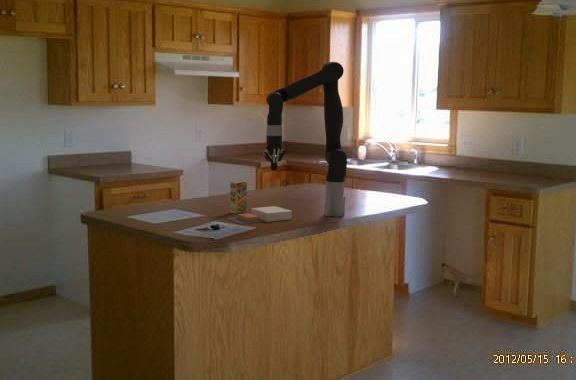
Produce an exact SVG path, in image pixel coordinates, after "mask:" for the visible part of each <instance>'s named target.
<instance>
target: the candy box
mask: <svg viewBox="0 0 576 380" xmlns="http://www.w3.org/2000/svg"><path fill="white" fill-rule="evenodd" d="M229 184H230V189H229V191H230V192H229V193H230V194H229V213H230V214H235V215H237V214H242V213H247V209H248V206H247V205H248V181H246V180H245V181H244V180H238V181H237V180H236V181H232V182H230V183H229Z"/></svg>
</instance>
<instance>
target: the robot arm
mask: <svg viewBox="0 0 576 380" xmlns="http://www.w3.org/2000/svg"><path fill="white" fill-rule="evenodd" d="M343 76H344V67H343V65H342V64H341V63H340V62H337V61H327V62H325V63H324V64H323V65H322V67H321V70H319V71H316V72H315V73H314V74H311V75H309V76H305V77H303V78H300V79H297V80H296V81H293V82H292V83H289V84H288V85H286V86H284V87H281V88H278V89H275V90H274V91H272V92H270V93H268V94H267V96H266V104H267V105H268V112H267V113H268V114H267V116H266V118H267V119H266V137H265V138H266V141H265V142H266V148H265V150H264V151H262V152H261V153H262V155H263V157H264V159H266V161H267V162H270V170H271V171H277V170H278V163H279V162H281V161H282V159H283V158H284V156H285V155H286V153H287V151H286V150H284V148H283V146H282V144H283V126H282V125H283V110H284V103H285V102H287V101H291V100H294V99H296V98H299V97H300V96H302V95H304V94H306V93H308V92H309V91H311V90H313V89H315V88H317V87H321V86H322V87H323V115H324V116H323V118H324V120H323V121H324V131H325V133H324V134H325V155H324V158H325V162H326V164H327V165H328V168H327V169H328V170H327V173H326V175H325V191H324V193H325V194H324V210H323V211H324V213H323V214H324V216H327V217H330V216H333V218H339V217H338V216H340V217H343V216H345V211H346V209H345V206H346V196H345V195H344V194H345V180H346V176H347V166H348V165H347V164H348V156H347V154H346V152H345V151H344V150H342V143H341V135H342V131H343V126H344V109H343V107H344V106H343V103H342V100H341V97H340V93H339V80H340V79H341V78H342V77H343ZM342 215H343V216H342Z"/></svg>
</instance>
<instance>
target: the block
mask: <svg viewBox="0 0 576 380" xmlns="http://www.w3.org/2000/svg"><path fill="white" fill-rule="evenodd" d="M236 215H237V216H236V217H237V219H240V220H243V221H246V222H251V221H258V216H255V215H252V214H251V213H249V212H248V213H247V212H244V213H236Z"/></svg>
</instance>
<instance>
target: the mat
mask: <svg viewBox="0 0 576 380" xmlns="http://www.w3.org/2000/svg"><path fill="white" fill-rule="evenodd" d="M224 220H226V221H230V222H233V223H235V224H238V225H250V224H257V223H266V221H264V220H261V219H258V221H251V222H246V221H243V220H240V219H237V216H235V217H226V218H225V219H224Z"/></svg>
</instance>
